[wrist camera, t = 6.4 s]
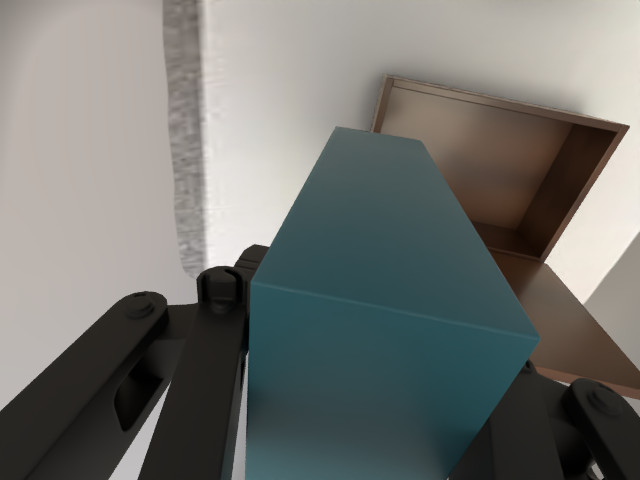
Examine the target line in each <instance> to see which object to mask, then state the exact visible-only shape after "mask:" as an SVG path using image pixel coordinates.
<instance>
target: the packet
mask: <svg viewBox="0 0 640 480" xmlns="http://www.w3.org/2000/svg"><path fill="white" fill-rule="evenodd" d="M540 340H541V337H540V335H539V333H538V332H537V330H536V328H535V327H534V325H533V323H532V322H531V320H530V319H529V317H528V315H527V314H526V312H525V310H524V309H523V307H522V305H521V304H520V302H519V300H518V299H517V297H516V296H515V294H514V292H513V291H512V289H511V287H510V286H509V284H508V282H507V281H506V279H505V277H504V276H503V274H502V273H501V271H500V269H499V268H498V266H497V264H496V263H495V261H494V259H493V258H492V256H491V254H490V253H489V251H488V249H487V248H486V246H485V245H484V243H483V241H482V240H481V238H480V236H479V235H478V233H477V231H476V230H475V228H474V226H473V225H472V223H471V222H470V220H469V218H468V217H467V215H466V213H465V212H464V210H463V208H462V207H461V205H460V203H459V202H458V200H457V199H456V197H455V195H454V194H453V192H452V190H451V189H450V187H449V185H448V184H447V182H446V180H445V179H444V177H443V176H442V174H441V172H440V171H439V169H438V167H437V166H436V164H435V162H434V161H433V159H432V157H431V156H430V154H429V153H428V151H427V149H426V148H425V146H424V144H423V143H422V141H421V140H416V139H410V138H404V137H398V136H392V135H386V134H380V133H374V132H368V131H362V130H356V129H350V128H343V127H337V126H336V127H335V129H334V131H333V133H332V135H331V136H330V138H329V140H328V142H327V144H326V145H325V147H324V149H323V151H322V153H321V155H320V156H319V158H318V160H317V162H316V164H315V166H314V167H313V169H312V171H311V173H310V175H309V176H308V178H307V180H306V182H305V184H304V186H303V187H302V189H301V191H300V193H299V195H298V196H297V198H296V200H295V202H294V204H293V206H292V207H291V209H290V211H289V213H288V215H287V217H286V218H285V220H284V222H283V224H282V226H281V227H280V229H279V231H278V233H277V235H276V237H275V238H274V240H273V242H272V244H271V246H270V247H269V249H268V251H267V253H266V255H265V257H264V258H263V260H262V262H261V264H260V266H259V267H258V269H257V271H256V273H255V275H254V277H253V278H252V280H251V287H250V321H249V357H248V391H247V392H248V393H247V426H246V461H245V462H246V463H245V480H447V478H448V477H449V475H450V474H451V472H452V471H453V469H454V468H455V466H456V465H457V463H458V462H459V460H460V459H461V457H462V456H463V455H464V453H465V452H466V450H467V449H468V447H469V446H470V444H471V443H472V441H473V440H474V438H475V437H476V435H477V434H478V432H479V431H480V429H481V428H482V426H483V425H484V423H485V422H486V420H487V419H488V417H489V416H490V414H491V413H492V412H493V410H494V409H495V407H496V406H497V404H498V403H499V401H500V400H501V398H502V397H503V395H504V394H505V392H506V391H507V389H508V388H509V386H510V385H511V383H512V382H513V380H514V379H515V377H516V376H517V374H518V373H519V372H520V370H521V369H522V367H523V366H524V364H525V363H526V361H527V360H528V358H529V357H530V355H531V354H532V352H533V351H534V349H535V348H536V346H537V345H538V343H539V342H540Z"/></svg>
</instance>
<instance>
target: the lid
mask: <svg viewBox="0 0 640 480" xmlns="http://www.w3.org/2000/svg"><path fill="white" fill-rule="evenodd" d="M489 253H490V254H491V256H492V258H493V259H494V261H495V263H496V264H497V266H498V268H499V269H500V271H501V273H502V274H503V276H504V277H505V279H506V281H507V282H508V284H509V286H510V287H511V289H512V291H513V292H514V294H515V296H516V297H517V299H518V300H519V302H520V304H521V305H522V307H523V309H524V310H525V312H526V314H527V315H528V317H529V319H530V320H531V322H532V323H533V325H534V327H535V328H536V330H537V332H538V333H539V335H540V337H541V340H540V342H539V343H538V345H537V346H536V348H535V349H534V351H533V352H532V354H531V355H530V357H529V359H530V360H531V361H532V363H533V364H534V366H535V368H536V370H537V373H539V374H541V375H543V376H545V377H547V378H550V379H552V380H557V381H561V382H565V383H569V384H571V383H572V382H573V381H574V380H576V379H578V378H589V379H592V380H595V381H598V382H600V383H602V384H604V385H606V386H608V387H610V388H611V389H613V390H614V391H615V392H617V393H618V394H619V395H621V396H625V397H630V398H634V399H638V400H640V371H639V370H638V369H637V368H636V366H635V365H634V364H633V363H632V362H631V361H630V360H629V358H628V357H627V356H626V355H625V354H624V353H623V351H621V349H620V348H619V347H618V346H617V344H616V343H615V342H614V341H613V340H612V339H611V337H610V336H609V335H608V334H607V333H606V332H605V331H604V330H603V328H602V327H601V326H600V325H599V324H598V323H597V322H596V320H595V319H594V318H593V317H592V316H591V315H590V313H589V312H588V311H587V310H586V309H585V308H584V306H583V305H582V304H581V303H580V302H579V300H578V299H577V298H576V297H575V296H574V295H573V294H572V292H571V291H570V290H569V289H568V288H567V287H566V285H565V284H564V283H563V282H562V281H561V280H560V279H559V277H558V276H557V275H556V274H555V273H554V272H553V270H552V269H551V268H550V267H549V266H548V265H547V264H545V263H540V262H535V261H531V260H526V259H522V258H517V257H513V256H508V255H503V254H499V253H494V252H490V251H489Z"/></svg>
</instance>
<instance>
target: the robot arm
mask: <svg viewBox="0 0 640 480" xmlns="http://www.w3.org/2000/svg"><path fill="white" fill-rule="evenodd" d="M268 249H269V247H267V246H262V245H256V244H254V245H252V246H250V247H249V248H247V249H245V250H244V251H243V253H242V254H241V256H240V257H239V260H237V262H236V263H235V265H234V267H230V266H216V267H213V268H209V269H207V270H205V271H204V272H202V273H200V275H199V276H198V278H197V279H196V281H197V292H198V303H195V304H187V305H167V299H166V298H165V297H164V296H163V295H161V294H159V293H156V292H148V291H144V292H138V293H133V294H131V295H128V296H125V297H124V298H122V299H121V300H119V301H118V302H117V303H115V304H114V305H113V306H112V307H111V308H110V309H109V310H108V311H107V312H106V313H105V314H104V315H103V316H101V317H100V318H99V319H98V320H97V321H96V322H95V323H94V324H93V325H92V326H91V327H90V328H89V329H88V330H86V331H85V332H84V333H83V334H82V335H81V336H80V337H79V338H78V339H77V340H76V341H75V342H74V343H73V344H72V345H70V346H69V347H68V348H67V349H66V350H65V351H64V352H63V353H62V354H61V355H60V356H59V357H58V358H57V359H56V360H54V361H53V362H52V363H51V364H50V365H49V366H48V367H47V368H46V369H45V370H44V371H43V372H42V373H41V374H39V375H38V376H37V377H36V378H35V379H34V380H33V381H32V382H31V383H30V384H29V385H28V386H27V387H26V388H25V389H23V391H21V392H20V393H19V394H18V395H17V396H16V397H15V398H14V399H13V400H12V401H11V402H10V403H9V404H8V405H6V406H5V407H4V408H3V409H2V410H1V411H0V480H108V479H109V478H110V476H111V475H112V473H113V472H114V470H115V468H116V467H117V465H118V464H119V462H120V461H121V459H122V457H123V456H124V454H125V453H126V451H127V450H128V448H129V446H130V445H131V443H132V442H133V440H134V439H135V437H136V435H137V434H138V432H139V431H140V429H141V427H142V426H143V424H144V423H145V421H146V420H147V418H148V417H149V415H150V413H151V412H152V410H153V409H154V407H155V406H156V404H157V402H158V401H159V399H160V398H161V396H162V394H163V393H164V391H165V390H166V388H167V387H168V385H169V383H170V382H171V384H170V387H169V389H168V392H167V395H166V398H165V401H164V404H163V407H162V410H161V413H160V416H159V419H158V421H157V424H156V427H155V430H154V433H153V436H152V439H151V442H150V445H149V448H148V451H147V453H146V456H145V459H144V462H143V465H142V468H141V471H140V474H139V477H138V480H231V477H232V470H233V462H234V453H235V446H236V438H237V430H238V422H239V413H240V406H241V399H242V390H243V382H244V375H245V367H246V355H247V353H248V350H249V321H250V287H251V280H252V278H253V277H254V275H255V273H256V271H257V269H258V267H259V266H260V264H261V262H262V260H263V258H264V257H265V255H266V253H267V251H268ZM171 380H172V381H171ZM595 463H597V465H598V467H599V469H600V471H601V472H602V474H603V476H604V478H603V479H602V480H640V417H639V416H638V415H637V413H636V412H635V411H634V409H633V408H632V407H631V406H630V405H629V403H628V402H627V401H626V400H625V399H624V398H623V397H622V396H620V395H619V394H618V393H617V392H615V391H614V390H613V389H611V388H610V387H608V386H606V385H604V384H602V383H600V382H598V381H595V380H592V379H589V378H578V379H576V380H574V381H573V382H572V383H571V385H570V386H569V387H568V386H566V385H563V384H561V383H559V382H557V381H554V380H552V379H550V378H547V377H545V376H543V375H541V374H539V373H537V370H536V368H535V366H534V364H533V363H532V361H531V360H530V359H529V358H528V360H527V361H526V363H525V364H524V366H523V367H522V369H521V370H520V372H519V373H518V374H517V376H516V377H515V379H514V380H513V382H512V383H511V385H510V386H509V388H508V389H507V391H506V392H505V394H504V395H503V397H502V398H501V400H500V401H499V403H498V404H497V406H496V407H495V409H494V410H493V412H492V413H491V414H490V416H489V417H488V419H487V420H486V422H485V423H484V425H483V426H482V428H481V429H480V431H479V432H478V434H477V435H476V437H475V438H474V440H473V441H472V443H471V444H470V446H469V447H468V449H467V450H466V452H465V453H464V455H463V456H462V457H461V459H460V460H459V462H458V463H457V465H456V466H455V468H454V469H453V471H452V472H451V474H450V475H449V480H599V479H598V478H597V476H596V475H595V473H594V472H593V470H592V468H591V467H592V466H593V465H594V464H595Z"/></svg>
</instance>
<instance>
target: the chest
mask: <svg viewBox="0 0 640 480" xmlns="http://www.w3.org/2000/svg"><path fill="white" fill-rule="evenodd" d="M629 128H630V126H628V125H624V124H620V123H616V122H612V121H608V120H604V119H600V118H596V117H592V116H588V115H584V114H580V113H575V112H570V111H565V110H560V109H555V108H550V107H545V106H540V105H535V104H530V103H525V102H520V101H515V100H510V99H505V98H500V97H495V96H490V95H485V94H480V93H475V92H470V91H465V90H461V89H456V88H451V87H446V86H441V85H436V84H431V83H426V82H421V81H416V80H411V79H406V78H401V77H396V76H391V75H386V74H384V76H383V80H382V84H381V88H380V92H379V97H378V101H377V105H376V109H375V113H374V117H373V121H372V125H371V129H370V132H374V133H380V134H386V135H392V136H398V137H404V138H410V139H416V140H421V141H422V143H423V144H424V146H425V148H426V149H427V151H428V153H429V154H430V156H431V157H432V159H433V161H434V162H435V164H436V166H437V167H438V169H439V171H440V172H441V174H442V176H443V177H444V179H445V180H446V182H447V184H448V185H449V187H450V189H451V190H452V192H453V194H454V195H455V197H456V199H457V200H458V202H459V203H460V205H461V207H462V208H463V210H464V212H465V213H466V215H467V217H468V218H469V220H470V222H471V223H472V225H473V226H474V228H475V230H476V231H477V233H478V235H479V236H480V238H481V240H482V241H483V243H484V245H485V246H486V248H487V249H488V251H490V252H494V253H499V254H503V255H508V256H513V257H517V258H522V259H526V260H531V261H535V262H540V263H544V262H545V260H546V258H547V257H548V255H549V254H550V252H551V250H552V249H553V247H554V246H555V244H556V243H557V241H558V239H559V238H560V236H561V235H562V233H563V232H564V230H565V228H566V227H567V225H568V224H569V222H570V221H571V219H572V217H573V216H574V214H575V213H576V211H577V209H578V208H579V206H580V205H581V203H582V202H583V200H584V198H585V197H586V195H587V194H588V192H589V191H590V189H591V187H592V186H593V184H594V183H595V181H596V180H597V178H598V176H599V175H600V173H601V172H602V170H603V169H604V167H605V165H606V164H607V162H608V161H609V159H610V157H611V156H612V154H613V153H614V151H615V150H616V148H617V146H618V145H619V143H620V142H621V140H622V139H623V137H624V135H625V134H626V132H627V131H628V129H629Z"/></svg>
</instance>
